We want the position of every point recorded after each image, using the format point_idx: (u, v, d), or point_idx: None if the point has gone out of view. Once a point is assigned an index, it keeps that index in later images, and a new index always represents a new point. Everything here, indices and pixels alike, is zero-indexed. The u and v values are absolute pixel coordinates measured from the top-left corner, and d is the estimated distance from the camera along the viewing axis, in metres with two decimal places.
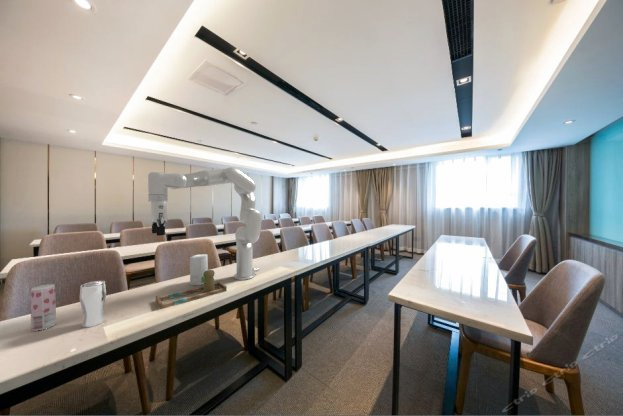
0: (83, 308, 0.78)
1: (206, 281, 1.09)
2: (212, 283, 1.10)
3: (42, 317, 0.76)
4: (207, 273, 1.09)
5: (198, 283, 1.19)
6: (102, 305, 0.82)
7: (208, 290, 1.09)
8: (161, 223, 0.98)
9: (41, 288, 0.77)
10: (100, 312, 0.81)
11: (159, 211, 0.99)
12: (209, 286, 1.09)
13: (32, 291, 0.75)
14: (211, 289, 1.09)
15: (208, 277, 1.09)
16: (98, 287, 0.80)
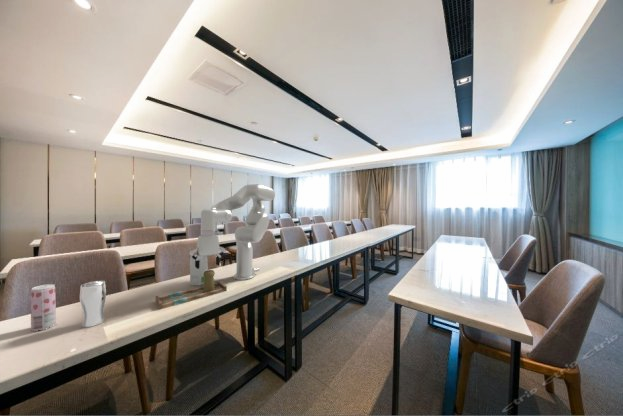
0: (83, 308, 0.78)
1: (206, 281, 1.09)
2: (212, 283, 1.10)
3: (42, 317, 0.76)
4: (207, 273, 1.09)
5: (198, 283, 1.19)
6: (102, 305, 0.82)
7: (208, 290, 1.09)
8: None
9: (41, 288, 0.77)
10: (100, 312, 0.81)
11: None
12: (209, 286, 1.09)
13: (32, 291, 0.75)
14: (211, 289, 1.09)
15: (208, 277, 1.09)
16: (98, 287, 0.80)
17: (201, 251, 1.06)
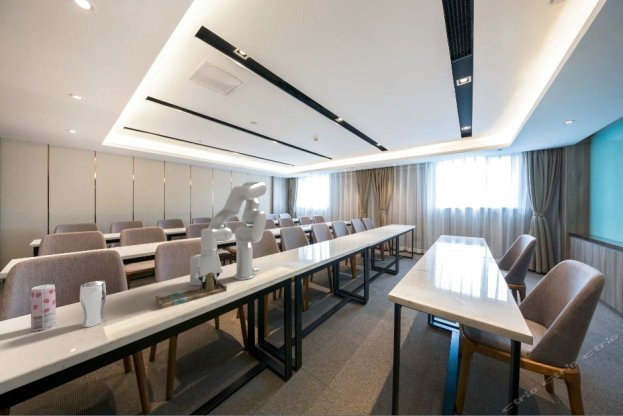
0: (83, 308, 0.78)
1: (206, 281, 1.09)
2: (212, 283, 1.10)
3: (42, 317, 0.76)
4: None
5: (198, 283, 1.19)
6: (102, 305, 0.82)
7: (208, 290, 1.09)
8: None
9: (41, 288, 0.77)
10: (100, 312, 0.81)
11: None
12: (209, 286, 1.09)
13: (32, 291, 0.75)
14: (211, 289, 1.09)
15: (208, 277, 1.09)
16: (98, 287, 0.80)
17: (202, 271, 1.07)
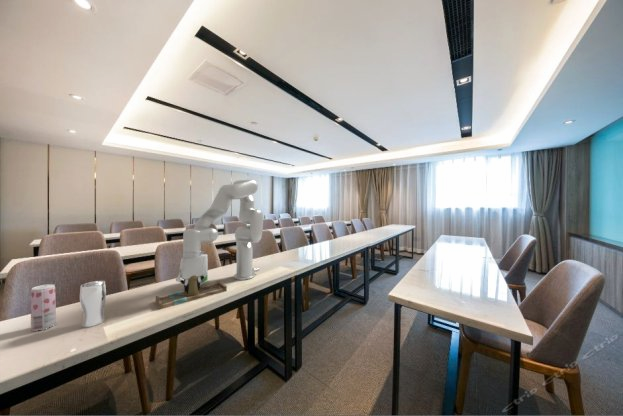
0: (83, 308, 0.78)
1: (189, 284, 1.03)
2: (195, 286, 1.05)
3: (42, 317, 0.76)
4: None
5: None
6: (102, 305, 0.82)
7: (191, 294, 1.03)
8: None
9: (41, 288, 0.77)
10: (100, 312, 0.81)
11: None
12: (192, 290, 1.04)
13: (32, 291, 0.75)
14: (194, 293, 1.04)
15: (191, 280, 1.03)
16: (98, 287, 0.80)
17: (184, 274, 1.01)
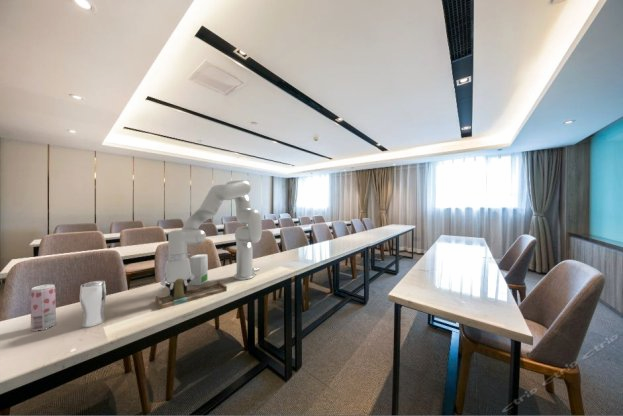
0: (83, 308, 0.78)
1: (174, 288, 0.99)
2: (181, 290, 1.01)
3: (42, 317, 0.76)
4: None
5: (198, 283, 1.19)
6: (102, 305, 0.82)
7: (176, 298, 0.99)
8: None
9: (41, 288, 0.77)
10: (100, 312, 0.81)
11: None
12: (178, 294, 0.99)
13: (32, 291, 0.75)
14: (180, 297, 1.00)
15: (176, 283, 0.99)
16: (98, 287, 0.80)
17: (169, 277, 0.97)
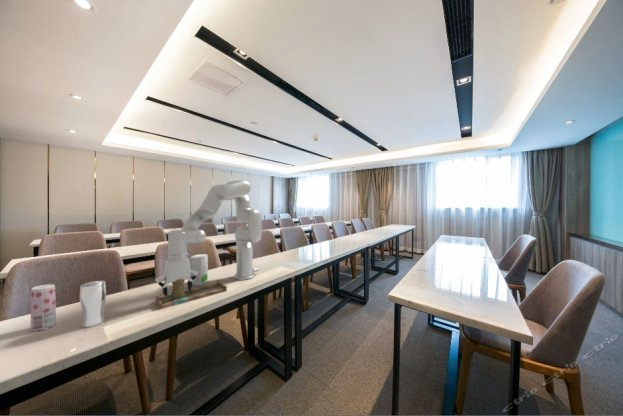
0: (83, 308, 0.78)
1: (174, 288, 0.99)
2: (181, 290, 1.01)
3: (42, 317, 0.76)
4: None
5: (198, 283, 1.19)
6: (102, 305, 0.82)
7: (176, 298, 0.99)
8: None
9: (41, 288, 0.77)
10: (100, 312, 0.81)
11: (189, 267, 1.04)
12: (178, 294, 0.99)
13: (32, 291, 0.75)
14: (180, 297, 1.00)
15: (176, 284, 0.99)
16: (98, 287, 0.80)
17: (169, 277, 0.97)
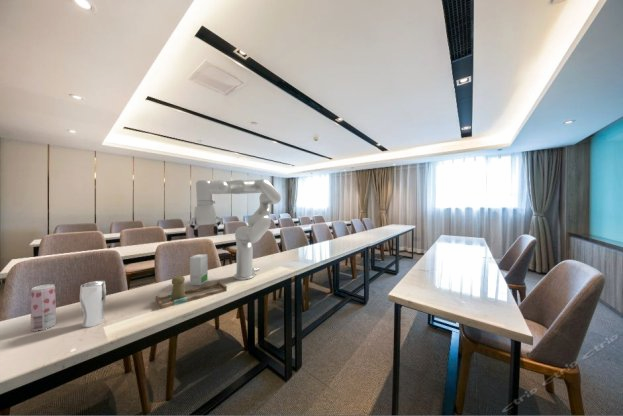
0: (83, 308, 0.78)
1: (174, 288, 0.99)
2: (181, 290, 1.01)
3: (42, 317, 0.76)
4: (175, 279, 0.99)
5: (198, 283, 1.19)
6: (102, 305, 0.82)
7: (176, 298, 0.99)
8: None
9: (41, 288, 0.77)
10: (100, 312, 0.81)
11: None
12: (178, 294, 0.99)
13: (32, 291, 0.75)
14: (180, 297, 1.00)
15: (176, 284, 0.99)
16: (98, 287, 0.80)
17: (199, 220, 1.11)
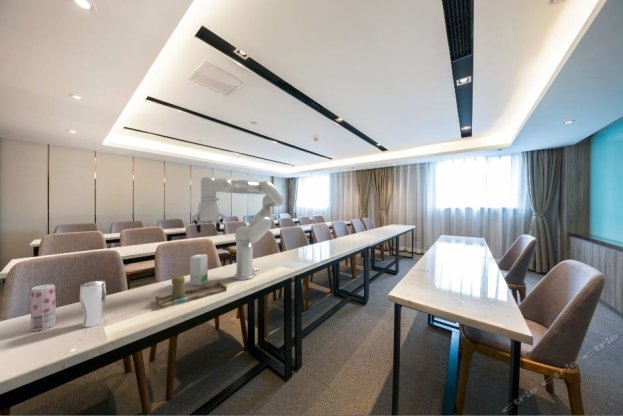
0: (83, 308, 0.78)
1: (174, 288, 0.99)
2: (181, 290, 1.01)
3: (42, 317, 0.76)
4: (175, 279, 0.99)
5: (198, 283, 1.19)
6: (102, 305, 0.82)
7: (176, 298, 0.99)
8: None
9: (41, 288, 0.77)
10: (100, 312, 0.81)
11: None
12: (178, 294, 0.99)
13: (32, 291, 0.75)
14: (180, 297, 1.00)
15: (176, 284, 0.99)
16: (98, 287, 0.80)
17: (202, 216, 1.13)
